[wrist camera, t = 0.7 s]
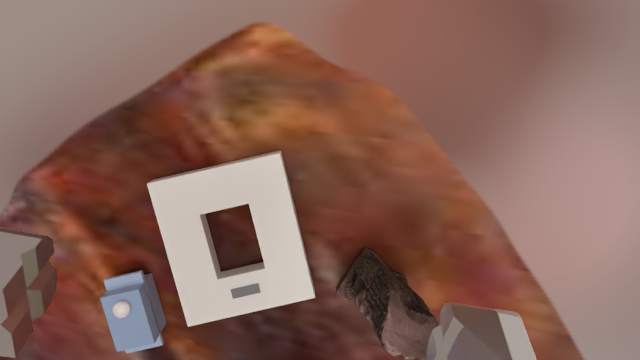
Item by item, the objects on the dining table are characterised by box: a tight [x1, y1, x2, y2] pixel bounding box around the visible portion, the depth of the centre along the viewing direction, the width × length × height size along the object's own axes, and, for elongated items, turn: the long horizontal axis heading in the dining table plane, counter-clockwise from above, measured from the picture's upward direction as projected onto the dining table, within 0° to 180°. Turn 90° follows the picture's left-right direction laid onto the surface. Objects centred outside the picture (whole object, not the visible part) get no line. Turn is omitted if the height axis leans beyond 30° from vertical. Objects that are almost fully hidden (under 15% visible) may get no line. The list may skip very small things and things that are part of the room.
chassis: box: [147, 150, 315, 327], centre depth 58 cm, size 16×14×3 cm
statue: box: [337, 248, 438, 360], centre depth 50 cm, size 7×7×20 cm
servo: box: [100, 270, 167, 354], centre depth 57 cm, size 8×4×6 cm, turn 13°
